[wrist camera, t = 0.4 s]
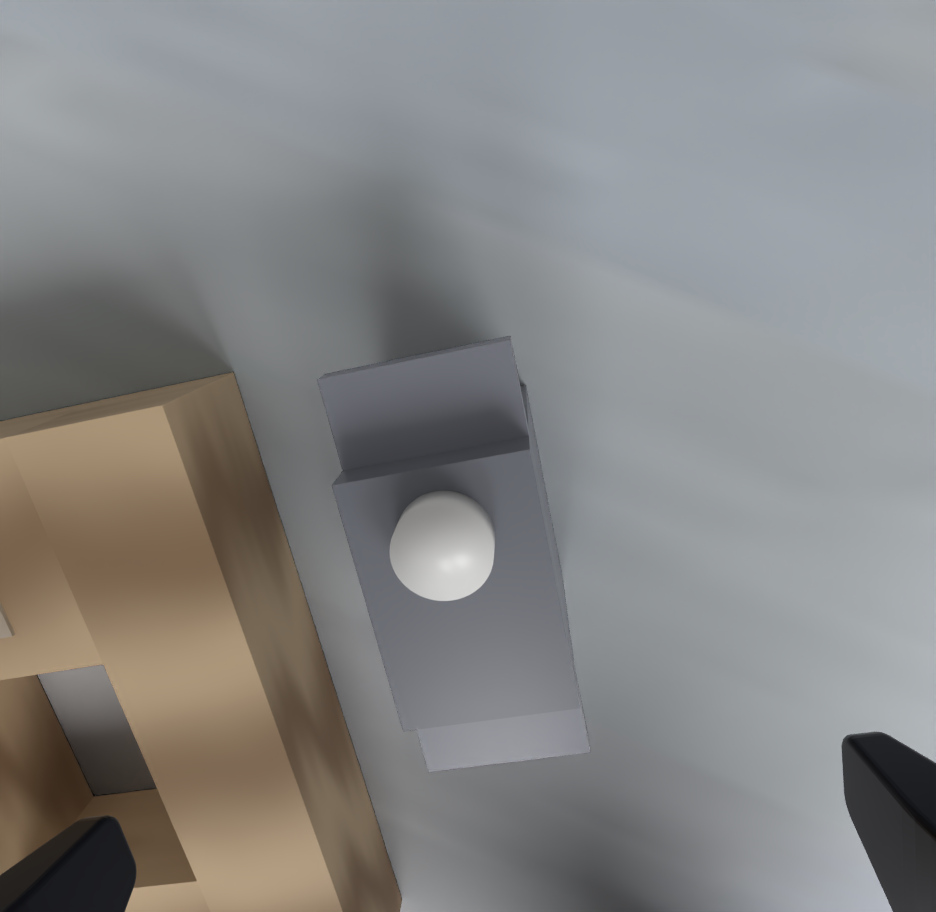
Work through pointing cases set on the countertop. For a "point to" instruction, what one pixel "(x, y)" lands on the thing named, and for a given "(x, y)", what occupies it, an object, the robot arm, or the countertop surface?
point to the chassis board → (176, 659)
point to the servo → (457, 553)
